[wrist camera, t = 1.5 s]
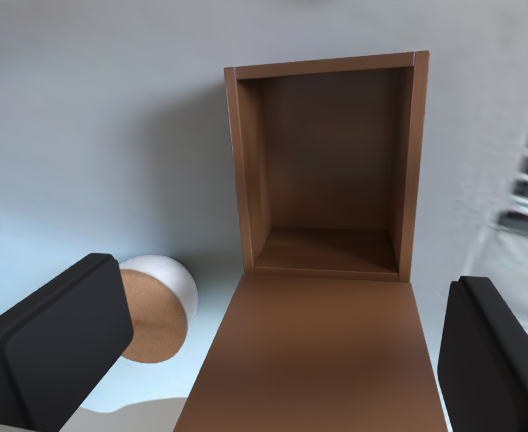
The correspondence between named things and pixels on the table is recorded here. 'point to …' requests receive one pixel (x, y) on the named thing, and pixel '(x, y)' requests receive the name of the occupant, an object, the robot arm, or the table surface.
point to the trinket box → (158, 306)
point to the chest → (328, 164)
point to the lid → (316, 361)
